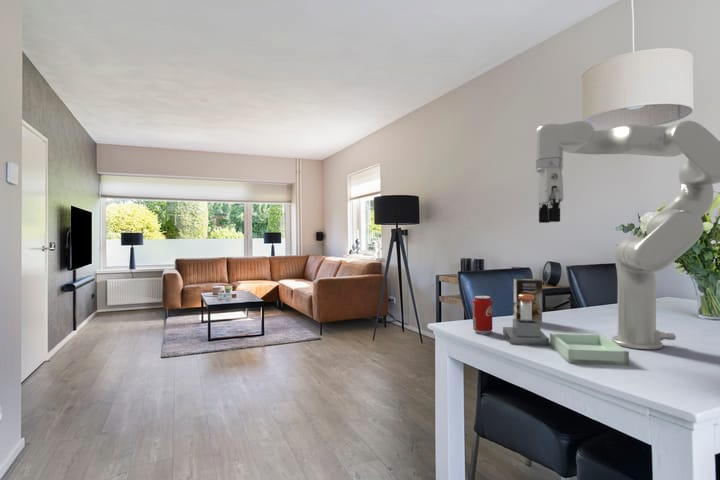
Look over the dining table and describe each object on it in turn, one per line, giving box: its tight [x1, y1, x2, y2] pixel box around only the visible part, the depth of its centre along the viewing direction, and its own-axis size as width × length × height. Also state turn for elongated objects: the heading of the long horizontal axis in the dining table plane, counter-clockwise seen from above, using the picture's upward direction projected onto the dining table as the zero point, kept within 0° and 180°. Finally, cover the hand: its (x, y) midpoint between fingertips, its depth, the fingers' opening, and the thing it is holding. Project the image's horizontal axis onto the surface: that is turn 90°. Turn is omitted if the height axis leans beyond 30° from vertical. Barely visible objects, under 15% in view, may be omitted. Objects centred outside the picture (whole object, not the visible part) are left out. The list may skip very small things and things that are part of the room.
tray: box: [549, 332, 630, 366], centre depth 115 cm, size 14×18×4 cm
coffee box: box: [512, 278, 543, 325], centre depth 157 cm, size 9×6×16 cm
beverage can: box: [472, 295, 493, 335], centre depth 142 cm, size 6×6×12 cm
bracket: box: [502, 318, 550, 346], centre depth 133 cm, size 11×14×6 cm
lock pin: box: [518, 294, 534, 323], centre depth 130 cm, size 4×4×12 cm
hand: (549, 222), depth 129 cm, fingers open, 9 cm apart
